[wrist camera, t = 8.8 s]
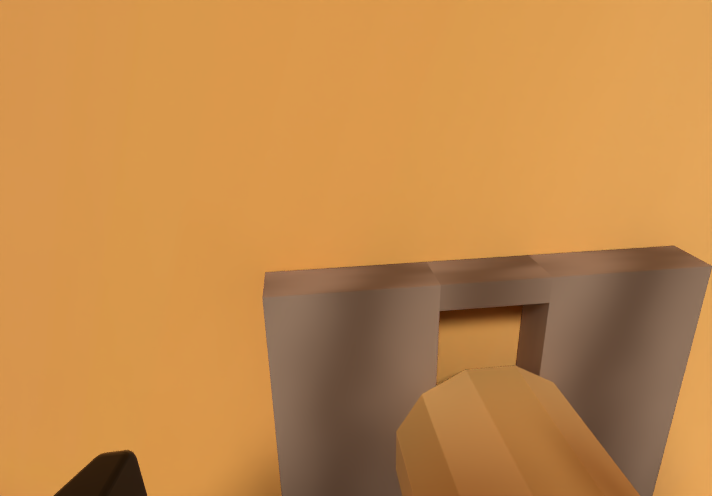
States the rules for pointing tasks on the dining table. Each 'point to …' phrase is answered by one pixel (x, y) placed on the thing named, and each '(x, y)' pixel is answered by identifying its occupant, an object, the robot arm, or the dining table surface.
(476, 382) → the notched tan hollow cylinder
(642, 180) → the dining table surface
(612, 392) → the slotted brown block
